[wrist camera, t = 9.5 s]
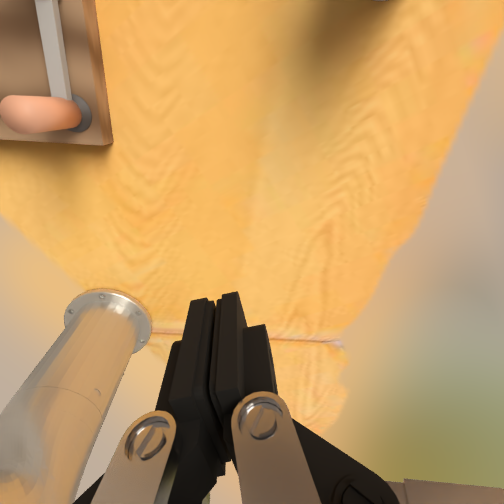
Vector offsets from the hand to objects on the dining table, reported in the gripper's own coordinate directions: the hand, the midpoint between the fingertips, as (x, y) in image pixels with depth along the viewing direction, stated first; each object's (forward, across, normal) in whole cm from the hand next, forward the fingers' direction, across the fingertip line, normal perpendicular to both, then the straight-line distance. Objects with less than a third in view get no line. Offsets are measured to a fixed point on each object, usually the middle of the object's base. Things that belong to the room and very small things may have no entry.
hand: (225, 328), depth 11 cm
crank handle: (+26, +13, -14) cm, 32 cm away
